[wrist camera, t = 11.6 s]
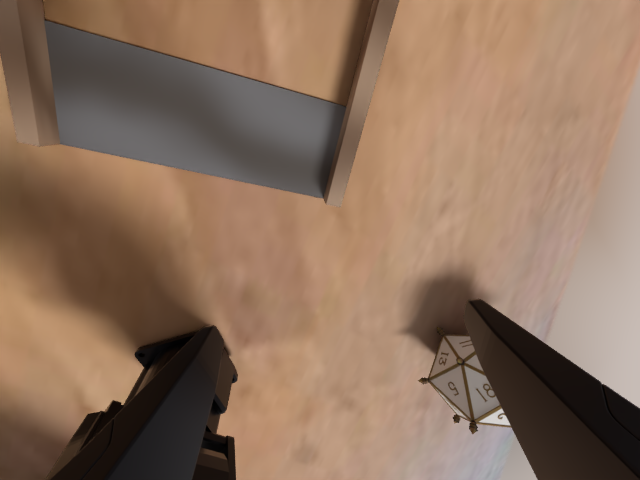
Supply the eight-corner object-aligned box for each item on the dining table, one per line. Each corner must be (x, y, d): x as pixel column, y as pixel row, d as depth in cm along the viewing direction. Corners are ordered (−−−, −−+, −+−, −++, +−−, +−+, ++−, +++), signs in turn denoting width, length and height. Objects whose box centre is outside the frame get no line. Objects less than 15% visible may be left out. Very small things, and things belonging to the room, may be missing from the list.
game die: (434, 303, 29) (526, 306, 20) (482, 360, 30) (594, 389, 20) (384, 367, 26) (467, 406, 17) (438, 430, 27) (549, 502, 17)
